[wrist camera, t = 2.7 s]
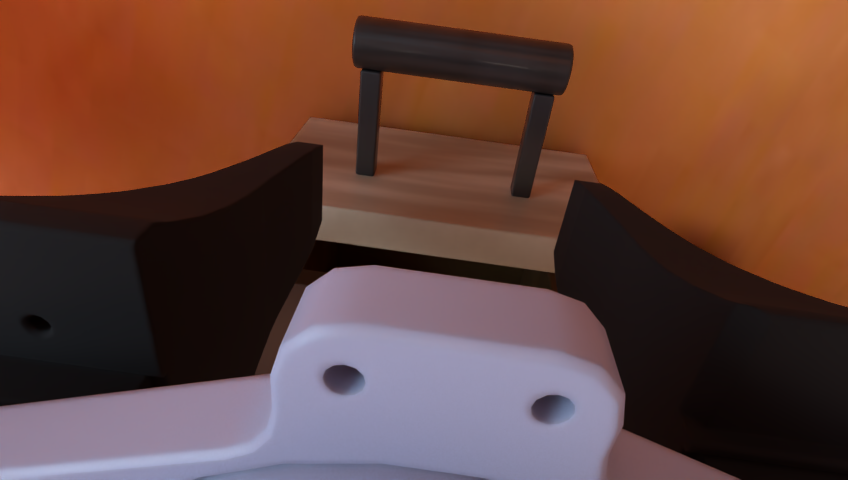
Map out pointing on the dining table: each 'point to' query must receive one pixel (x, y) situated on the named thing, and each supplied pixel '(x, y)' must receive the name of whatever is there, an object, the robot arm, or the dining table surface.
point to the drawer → (446, 164)
